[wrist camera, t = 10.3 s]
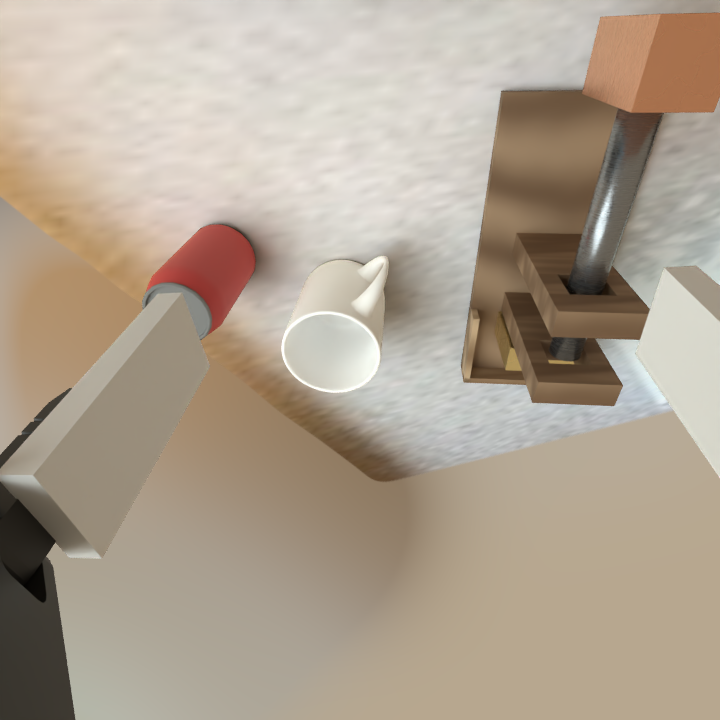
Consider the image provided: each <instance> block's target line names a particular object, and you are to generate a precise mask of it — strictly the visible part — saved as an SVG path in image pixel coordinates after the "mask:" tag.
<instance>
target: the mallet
mask: <svg viewBox="0 0 720 720" xmlns="http://www.w3.org/2000/svg"><path fill="white" fill-rule="evenodd" d="M582 94H584V95H586V96H589V97H592V98H594V99H597V100H599V101H602V102H605V103H607V104H610V105H612V106H615V107H618V110H617V113H616V117H615V120H614V124H613V127H612V131H611V134H610V138H609V141H608V145H607V148H606V152H605V155H604V159H603V162H602V166H601V169H600V173H599V176H598V180H597V183H596V186H595V190H594V193H593V197H592V200H591V204H590V207H589V211H588V214H587V218H586V221H585V225H584V228H583V232H582V235H581V239H580V242H579V246H578V249H577V253H576V256H575V260H574V263H573V267H572V270H571V274H570V277H569V281H568V284H567V288H566V289H567V291H568V293H569V294H570V295H602V293H603V290H604V287H605V284H606V281H607V278H608V275H609V272H610V269H611V266H612V264H613V261H614V258H615V255H616V252H617V249H618V246H619V243H620V240H621V237H622V234H623V231H624V228H625V226H626V223H627V220H628V217H629V214H630V211H631V208H632V205H633V202H634V199H635V196H636V193H637V190H638V188H639V185H640V182H641V179H642V176H643V173H644V170H645V167H646V164H647V161H648V158H649V155H650V152H651V149H652V147H653V144H654V141H655V138H656V135H657V132H658V129H659V126H660V123H661V120H662V117H663V114H664V112H714V110H715V107H716V105H717V102H718V100H719V97H720V13H686V14H651V15H629V16H608V17H600V21H599V25H598V29H597V33H596V38H595V42H594V46H593V50H592V54H591V58H590V63H589V67H588V71H587V75H586V79H585V83H584V88H583V92H582ZM586 340H587V338H569V337H552V340H551V344H550V347H549V352H550V354H551V355H552V356H553V357H555V358H557V359H559V360H563V361H576V360H578V359H580V357H581V354H582V351H583V348H584V345H585V343H586Z"/></svg>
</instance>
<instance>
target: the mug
mask: <svg viewBox="0 0 720 720" xmlns="http://www.w3.org/2000/svg"><path fill="white" fill-rule="evenodd" d="M388 270H389V260H388V258H387V257H386V256H379V257H376V258H374V259H373V260H371V261H370V262H368V263H367V264H366V265H362V264H359V263H357V262H354V261H349V260H334V261H330V262H326V263H324V264H322V265H320V266H319V267H317V268H316V269H315V270H314V271H313V272H312V273H311V274H310V275H309V277H308V278H307V280H306V282H305V284H304V286H303V288H302V291H301V293H300V296H299V298H298V301H297V304H296V306H295V309H294V311H293V314H292V316H291V319H290V321H289V324H288V326H287V329H286V331H285V334H284V336H283V340H282V355H283V359H284V362H285V364H286V366H287V368H288V369H289V370H290V372H291V373H292V374H293V375H294V376H295V377H296V378H297V379H298V380H299V381H301V382H302V383H304V384H305V385H307V386H309V387H311V388H314V389H317V390H320V391H324V392H332V393H340V392H347V391H352V390H354V389H357V388H359V387H361V386H363V385H365V384H366V383H367V382H368V381H370V380H371V379H372V378H373V376H374V375H375V374H376V372H377V370H378V368H379V366H380V362H381V351H382V338H383V324H384V311H385V295H384V290H383V289H384V286H385V283H386V280H387V276H388Z"/></svg>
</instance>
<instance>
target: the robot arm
mask: <svg viewBox="0 0 720 720" xmlns="http://www.w3.org/2000/svg"><path fill="white" fill-rule="evenodd" d="M635 354H636V356H637V357H638V359H639V360H640V362H641V363H642V365H643V366H644V367H645V369H646V370H647V372H648V373H649V375H650V376H651V378H652V379H653V381H654V382H655V384H656V385H657V387H658V388H659V390H660V391H661V392H662V394H663V395H664V397H665V398H666V400H667V401H668V403H669V404H670V406H671V407H672V409H673V410H674V412H675V413H676V415H677V416H678V417H679V419H680V420H681V422H682V423H683V425H684V426H685V428H686V429H687V431H688V432H689V434H690V435H691V437H692V438H693V440H694V441H695V442H696V444H697V445H698V447H699V448H700V450H701V451H702V453H703V454H704V456H705V457H706V459H707V460H708V461H709V463H710V464H711V466H712V467H713V469H714V470H715V472H716V473H717V475H718V476H719V478H720V286H719V285H718V284H717V283H716V282H715V281H713V280H712V279H711V278H710V277H709V276H708V275H706V274H705V273H704V272H703V271H702V270H701V269H699V268H698V267H697V266H683V267H664V269H663V272H662V275H661V278H660V281H659V284H658V287H657V290H656V293H655V296H654V299H653V302H652V305H651V308H650V311H649V314H648V317H647V320H646V323H645V326H644V329H643V332H642V335H641V338H640V341H639V344H638V347H637V350H636V353H635ZM209 367H210V365H209V362H208V360H207V357H206V354H205V352H204V349H203V346H202V344H201V341H200V339H199V336H198V333H197V331H196V328H195V325H194V323H193V320H192V317H191V315H190V312H189V310H188V307H187V304H186V302H185V299H184V296H183V294H182V292H181V293H162V294H157V295H156V296H155V297H154V298H153V299H152V301H151V302H150V303H149V304H148V305H147V306H146V307H145V308H144V309H143V311H142V312H141V313H140V314H139V315H138V316H137V317H136V318H135V319H134V321H133V322H132V323H131V324H130V325H129V326H128V327H127V328H126V329H125V331H124V332H123V333H122V334H121V335H120V336H119V337H118V338H117V340H116V341H115V342H114V343H113V344H112V345H111V346H110V347H109V348H108V349H107V351H106V352H105V353H104V354H103V355H102V356H101V357H100V358H99V359H98V361H97V362H96V363H95V364H94V365H93V366H92V367H91V368H90V370H89V371H88V372H87V373H86V374H85V375H84V376H83V377H82V378H81V379H80V380H79V382H78V383H77V384H76V385H75V386H74V387H73V388H69V389H68V390H66V391H65V392H63V393H62V394H61V395H59V396H58V397H56V398H55V399H54V400H52V401H51V402H49V403H48V404H47V405H46V406H45V407H44V408H43V409H42V410H41V412H40V413H39V414H38V415H37V416H36V417H35V418H34V422H30V423H29V425H28V426H27V427H26V428H25V429H24V430H23V431H22V435H19V436H17V437H16V438H15V440H14V441H13V442H12V443H11V444H10V445H9V446H8V447H7V448H6V449H5V450H4V451H3V452H2V454H1V455H0V720H75V714H74V708H73V700H72V694H71V687H70V680H69V673H68V666H67V659H66V652H65V645H64V639H63V632H62V625H61V618H60V611H59V604H58V597H57V591H56V584H55V577H54V570H53V566H52V564H51V562H50V560H49V559H48V558H47V557H46V555H47V554H48V553H49V551H50V550H51V548H52V546H53V545H54V544H55V542H56V544H57V545H58V546H59V547H60V548H61V549H62V550H63V551H64V552H65V553H66V555H67V556H68V557H69V558H99V559H101V558H103V556H104V554H105V553H106V551H107V549H108V547H109V545H110V544H111V542H112V540H113V538H114V537H115V535H116V533H117V531H118V529H119V528H120V526H121V524H122V522H123V521H124V519H125V517H126V515H127V513H128V512H129V510H130V508H131V506H132V505H133V503H134V501H135V499H136V497H137V496H138V494H139V492H140V490H141V489H142V487H143V485H144V483H145V481H146V479H147V478H148V476H149V474H150V473H151V471H152V469H153V467H154V465H155V463H156V462H157V460H158V458H159V457H160V455H161V453H162V451H163V449H164V448H165V446H166V444H167V442H168V441H169V439H170V437H171V435H172V433H173V432H174V430H175V428H176V426H177V425H178V423H179V421H180V419H181V417H182V415H183V414H184V412H185V410H186V409H187V407H188V405H189V403H190V401H191V400H192V398H193V396H194V394H195V392H196V391H197V389H198V387H199V385H200V384H201V382H202V380H203V378H204V376H205V375H206V373H207V371H208V369H209Z"/></svg>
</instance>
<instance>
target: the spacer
mask: <svg viewBox="0 0 720 720" xmlns="http://www.w3.org/2000/svg"><path fill="white" fill-rule="evenodd" d="M494 333H495V336H496V340H497V343H498V346H499V350H500V353H501V357H502V360H503V364H504V367H505V370H513V371H522V370H521V367H520V364H519V361H518V358H517V355H516V352H515V349H514V346H513V343H512V340H511V337H510V334H509V331H508V328H507V325H506V322H505V319H504V317H503V314H502V312H498V316H497V321H496V326H495V332H494ZM548 361H549V363H553V364H574V362H573V361H560V360H548Z"/></svg>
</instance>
